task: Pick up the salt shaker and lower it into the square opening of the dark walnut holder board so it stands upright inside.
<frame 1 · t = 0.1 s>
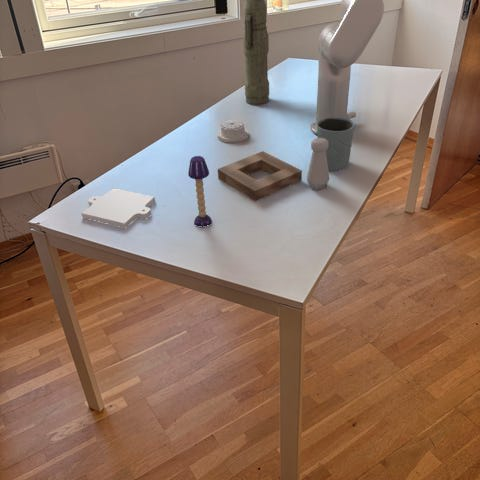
hand: (221, 10, 132), 37 cm above the table, tool pointing down, fingers open, 9 cm apart
green textured column: (257, 101, 179), on the table
green embossed cup: (332, 164, 135), on the table
holder board: (259, 179, 130), on the table
toy lamp: (204, 222, 114), on the table
mounting plate: (120, 211, 121), on the table
mechanical component: (233, 137, 154), on the table
salt shaker: (317, 186, 125), on the table
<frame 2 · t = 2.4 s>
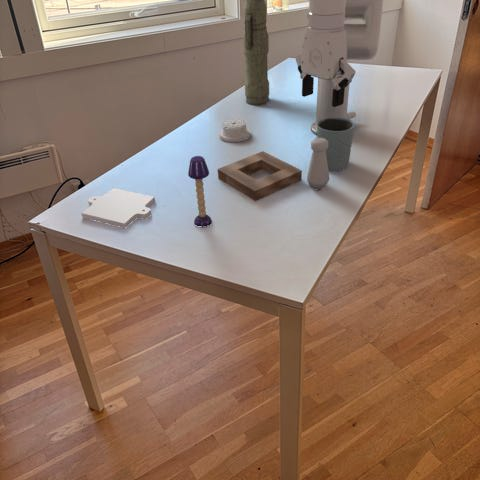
hand: (322, 100, 112), 23 cm above the table, tool pointing down, fingers open, 9 cm apart
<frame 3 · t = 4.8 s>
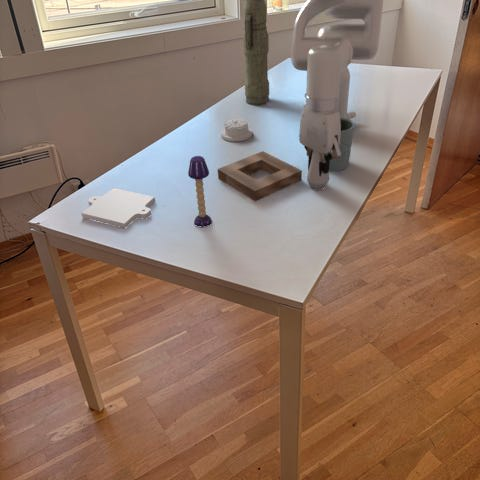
hand: (318, 171, 123), 4 cm above the table, tool pointing down, fingers closed on salt shaker, 3 cm apart
salt shaker: (317, 186, 125), on the table, touching gripper
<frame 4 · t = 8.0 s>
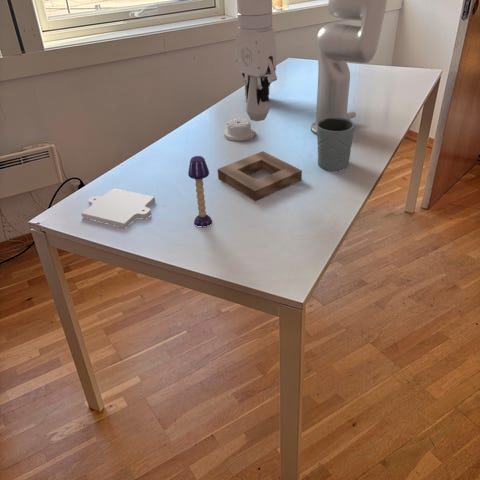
hand: (257, 101, 117), 22 cm above the table, tool pointing down, fingers closed on salt shaker, 3 cm apart
salt shaker: (257, 118, 120), point 17 cm above the table, touching gripper
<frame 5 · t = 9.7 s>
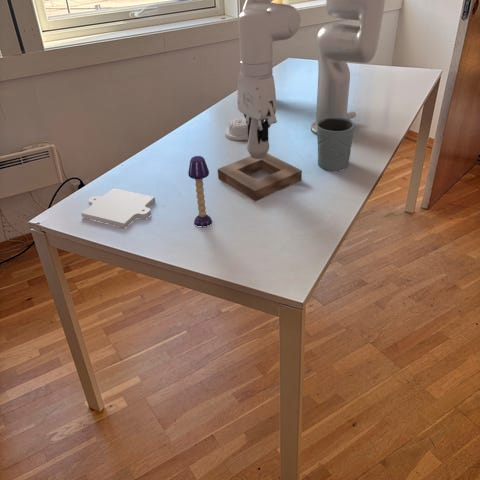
hand: (258, 140, 123), 11 cm above the table, tool pointing down, fingers closed on salt shaker, 3 cm apart
salt shaker: (258, 156, 125), point 7 cm above the table, touching gripper
when the fingers open (6 cm above the table, at t = 11.1 s): salt shaker drops 1 cm, resting in holder board.
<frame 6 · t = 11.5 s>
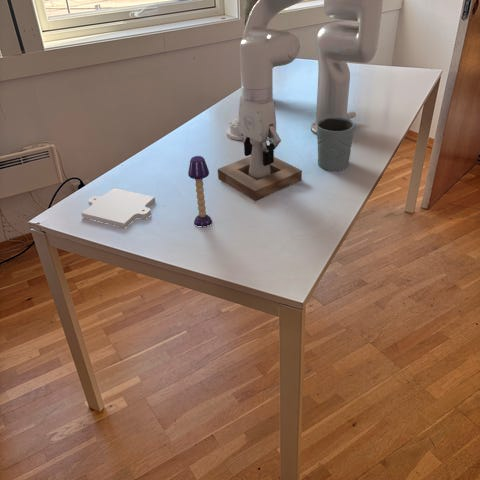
hand: (258, 158, 126), 6 cm above the table, tool pointing down, fingers open, 7 cm apart
salt shaker: (259, 179, 130), resting in holder board
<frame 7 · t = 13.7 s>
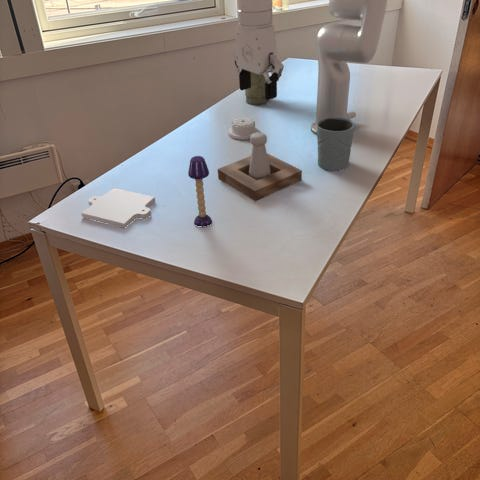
hand: (257, 93, 117), 23 cm above the table, tool pointing down, fingers open, 9 cm apart
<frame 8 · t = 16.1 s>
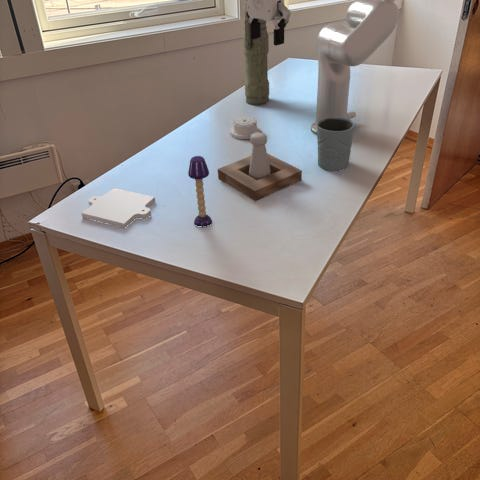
hand: (267, 41, 129), 30 cm above the table, tool pointing down, fingers open, 9 cm apart
at the end: salt shaker 0.2 cm off-centre on the holder board, point 0.0 cm above the holder board's base; salt shaker tilted 0°; the gripper is holding nothing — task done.
